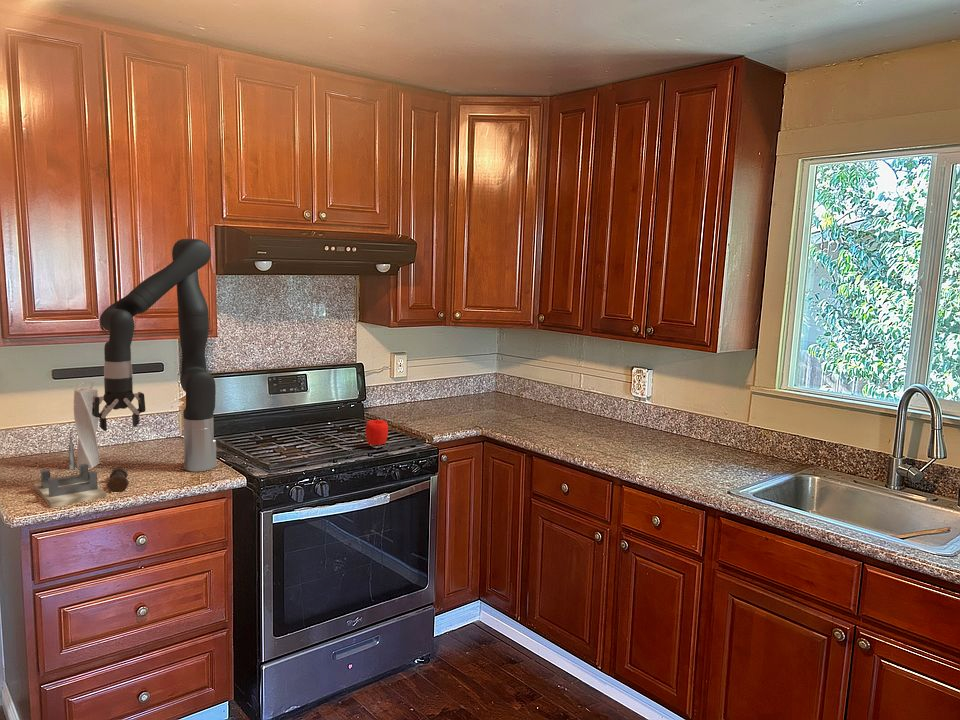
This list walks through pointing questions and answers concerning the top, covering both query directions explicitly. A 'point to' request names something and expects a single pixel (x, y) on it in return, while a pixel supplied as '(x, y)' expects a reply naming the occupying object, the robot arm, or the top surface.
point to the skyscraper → (84, 429)
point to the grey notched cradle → (69, 482)
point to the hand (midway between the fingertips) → (119, 428)
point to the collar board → (68, 496)
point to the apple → (376, 432)
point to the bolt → (118, 480)
